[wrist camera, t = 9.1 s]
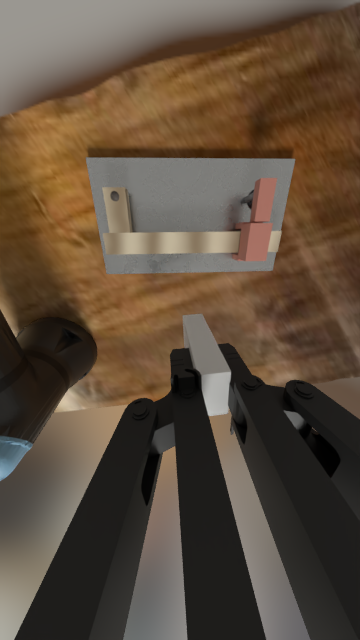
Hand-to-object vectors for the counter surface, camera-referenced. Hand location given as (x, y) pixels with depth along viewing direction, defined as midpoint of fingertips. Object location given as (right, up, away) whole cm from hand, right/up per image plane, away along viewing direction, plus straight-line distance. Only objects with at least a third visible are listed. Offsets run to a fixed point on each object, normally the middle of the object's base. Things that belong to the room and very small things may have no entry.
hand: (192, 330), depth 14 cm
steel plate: (+1, +17, +16) cm, 23 cm away
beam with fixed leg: (+1, +16, +15) cm, 22 cm away
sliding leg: (+9, +16, +15) cm, 24 cm away
